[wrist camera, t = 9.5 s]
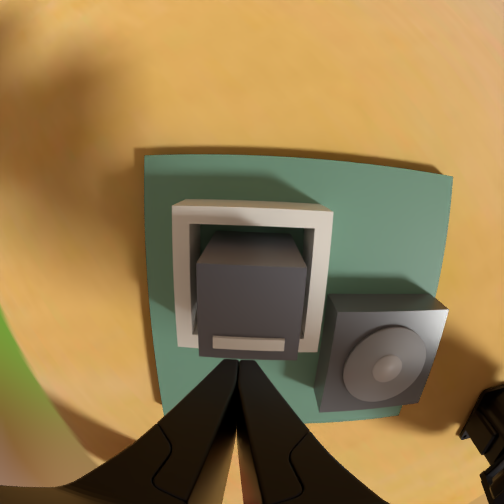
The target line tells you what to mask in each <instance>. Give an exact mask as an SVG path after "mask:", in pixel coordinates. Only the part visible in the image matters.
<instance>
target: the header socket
mask: <svg viewBox="0 0 504 504" xmlns="http://www.w3.org/2000/svg"><path fill="white" fill-rule="evenodd" d="M200 224H216V225H246V226H271V227H294V228H304V240H303V253H302V258H303V260H304V262H305V264H306V266H307V276H306V286H305V296H304V305H303V314H302V323H301V332H300V340H299V348H298V352H317V351H318V344H319V338H320V331H321V324H322V316H323V309H324V301H325V293H326V285H327V276H328V267H329V257H330V247H331V236H332V225H333V211H331V210H330V209H328V208H326V207H325V206H323V205H321V204H312V203H294V202H274V201H249V200H216V199H185V200H183V201H181V202H179V203H176V204H174V205H172V247H173V277H174V298H175V315H176V330H177V343H178V347H188V348H199V346H198V319H197V278H196V263H197V261H198V259H199V258H200Z"/></svg>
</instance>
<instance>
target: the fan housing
mask: <svg viewBox="0 0 504 504" xmlns="http://www.w3.org/2000/svg"><path fill="white" fill-rule="evenodd" d="M448 311H449V309H448V308H447V307H445V306H444V305H443V304H442V303H441V302H439V301H438V300H437V299H436V298H435V297H433V296H432V295H431V294H328V297H327V305H326V312H325V320H324V327H323V333H322V340H321V347H320V353H319V359H318V365H317V371H316V377H315V382H314V388H313V389H314V393H315V397H316V402H317V406H318V410H319V413H322V412H340V411H354V410H365V409H375V408H384V407H392V406H400V405H407V404H414V403H418V402H419V399H420V397H421V394H422V392H423V389H424V387H425V384H426V381H427V378H428V376H429V373H430V370H431V367H432V364H433V361H434V358H435V355H436V352H437V349H438V346H439V343H440V340H441V336H442V333H443V329H444V326H445V322H446V319H447V315H448Z"/></svg>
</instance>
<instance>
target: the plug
mask: <svg viewBox="0 0 504 504" xmlns="http://www.w3.org/2000/svg"><path fill="white" fill-rule="evenodd" d="M306 276H307V266H306V264H305V262H304V260H303V258H302V256H301V254H300V252H299V250H298V248H297V246H296V244H295V242H294V240H293V238H292V236H291V234H286V233H263V232H238V231H216V232H215V233H214V235H213V237H212V238H211V240H210V241H209V243H208V245H207V246H206V248H205V250H204V251H203V253H202V255H201V256H200V258H199V259H198V261H197V263H196V278H197V319H198V346H199V356H200V357H214V358H230V359H252V360H297V356H298V348H299V340H300V332H301V323H302V314H303V305H304V296H305V286H306Z"/></svg>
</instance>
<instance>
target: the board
mask: <svg viewBox="0 0 504 504" xmlns="http://www.w3.org/2000/svg"><path fill="white" fill-rule="evenodd" d="M452 183H453V177H452V176H447V175H441V174H435V173H429V172H423V171H417V170H410V169H403V168H396V167H388V166H381V165H372V164H364V163H355V162H345V161H335V160H323V159H311V158H296V157H279V156H258V155H220V154H181V155H145V158H144V215H145V245H146V265H147V280H148V293H149V305H150V316H151V326H152V335H153V344H154V352H155V360H156V367H157V374H158V381H159V388H160V394H161V400H162V406H163V412H164V416H165V415H166V414H167V413H168V412H169V411H170V410H171V409H172V408H173V407H175V406H176V405H177V404H178V403H179V402H180V401H181V400H182V399H183V398H184V397H185V396H186V395H187V394H188V393H189V392H190V391H191V390H192V389H194V388H195V387H196V386H197V385H198V384H199V383H200V382H201V381H202V380H203V379H204V378H205V377H206V376H207V375H208V374H209V373H210V372H211V371H212V370H213V369H214V368H215V367H216V366H217V365H218V364H219V363H220V362H221V361H222V360H223V359H230V358H214V357H200V356H199V348H188V347H178V343H177V330H176V315H175V298H174V277H173V247H172V205H174V204H176V203H179V202H181V201H183V200H185V199H216V200H249V201H274V202H294V203H312V204H321V205H323V206H325V207H326V208H328V209H330V210H331V211H333V225H332V236H331V247H330V257H329V267H328V276H327V285H326V293H325V301H324V309H323V316H322V324H321V331H320V338H319V344H318V351H317V352H298V356H297V360H255V361H256V362H257V364H258V365H259V366H260V368H261V369H262V370H263V372H264V373H265V374H266V375H267V377H268V378H269V379H270V381H271V382H272V383H273V385H274V386H275V387H276V389H277V390H278V391H279V392H280V394H281V395H282V396H283V398H284V399H285V400H286V402H287V403H288V404H289V405H290V407H291V408H292V409H293V410H294V412H295V413H296V414H297V415H298V417H299V418H300V419H301V420H302V422H303V423H326V422H342V421H354V420H365V419H374V418H383V417H390V416H397V415H399V413H400V410H401V408H402V405H400V406H392V407H384V408H375V409H365V410H354V411H340V412H322V413H319V410H318V406H317V402H316V397H315V393H314V389H313V388H314V382H315V377H316V371H317V365H318V359H319V353H320V347H321V340H322V333H323V327H324V320H325V312H326V305H327V297H328V294H431V295H432V296H433V297H435V296H436V292H437V287H438V282H439V277H440V272H441V267H442V262H443V256H444V250H445V244H446V237H447V230H448V222H449V214H450V205H451V195H452ZM216 231H238V232H263V233H286V234H291V236H292V238H293V240H294V242H295V244H296V246H297V248H298V250H299V252H300V254H301V256H302V253H303V240H304V228H294V227H271V226H246V225H216V224H200V256H201V255H202V253H203V251H204V250H205V248H206V246H207V245H208V243H209V241H210V240H211V238H212V237H213V235H214V233H215V232H216ZM237 360H239V362H240V360H252V359H237Z"/></svg>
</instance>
